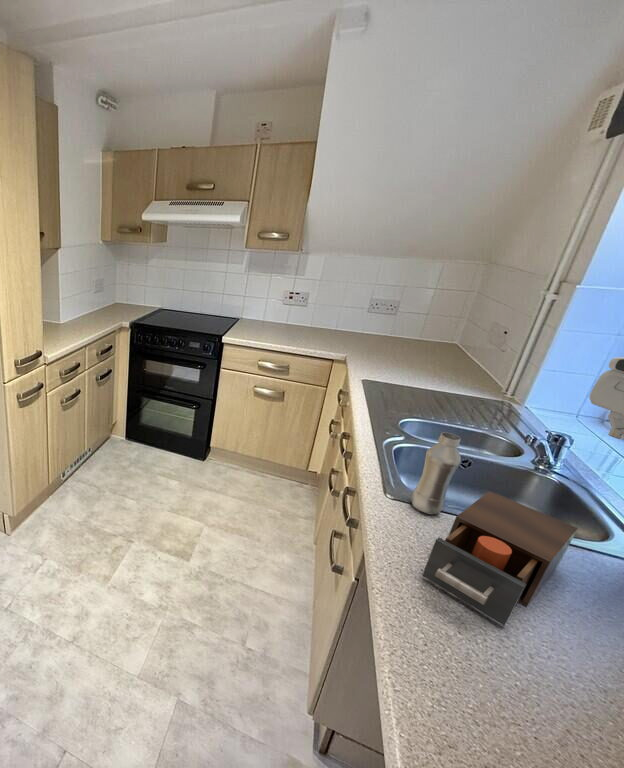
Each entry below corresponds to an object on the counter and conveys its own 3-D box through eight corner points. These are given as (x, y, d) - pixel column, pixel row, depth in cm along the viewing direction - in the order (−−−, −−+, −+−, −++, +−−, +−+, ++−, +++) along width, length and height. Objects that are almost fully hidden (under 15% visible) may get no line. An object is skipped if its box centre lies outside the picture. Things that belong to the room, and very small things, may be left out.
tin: (498, 587, 76) (516, 548, 72) (486, 597, 74) (505, 558, 70) (468, 569, 79) (485, 532, 76) (456, 578, 77) (473, 540, 74)
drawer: (493, 639, 67) (513, 599, 64) (409, 586, 77) (423, 549, 74) (534, 587, 77) (554, 550, 74) (456, 546, 87) (470, 512, 84)
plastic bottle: (439, 506, 101) (466, 434, 94) (442, 521, 96) (471, 446, 88) (407, 497, 104) (431, 426, 97) (409, 511, 99) (434, 438, 91)
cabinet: (526, 607, 74) (550, 561, 70) (439, 558, 85) (456, 516, 81) (555, 570, 82) (578, 527, 79) (472, 529, 93) (489, 490, 89)
